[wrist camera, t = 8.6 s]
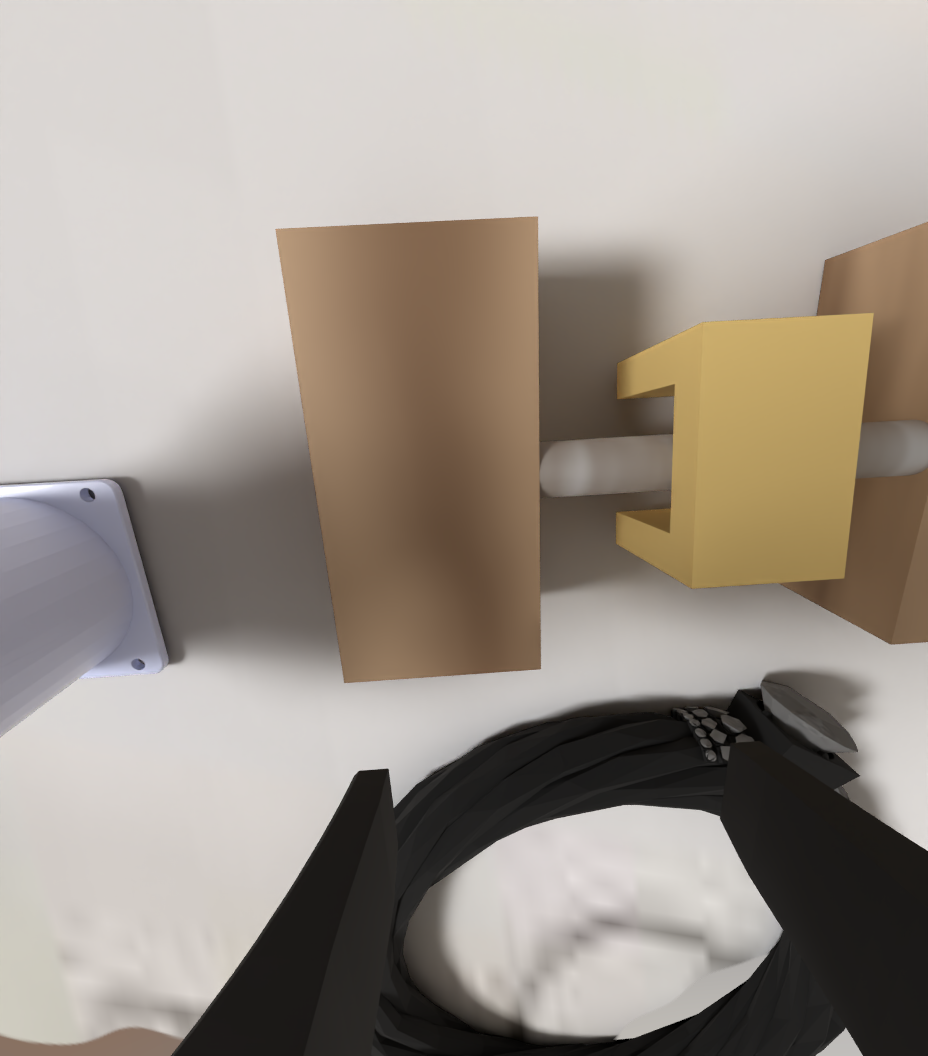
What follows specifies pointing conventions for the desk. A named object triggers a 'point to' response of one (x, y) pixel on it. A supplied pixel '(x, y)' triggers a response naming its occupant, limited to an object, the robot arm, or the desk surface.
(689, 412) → the yellow block
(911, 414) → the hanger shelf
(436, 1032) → the cable lock
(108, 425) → the desk surface
